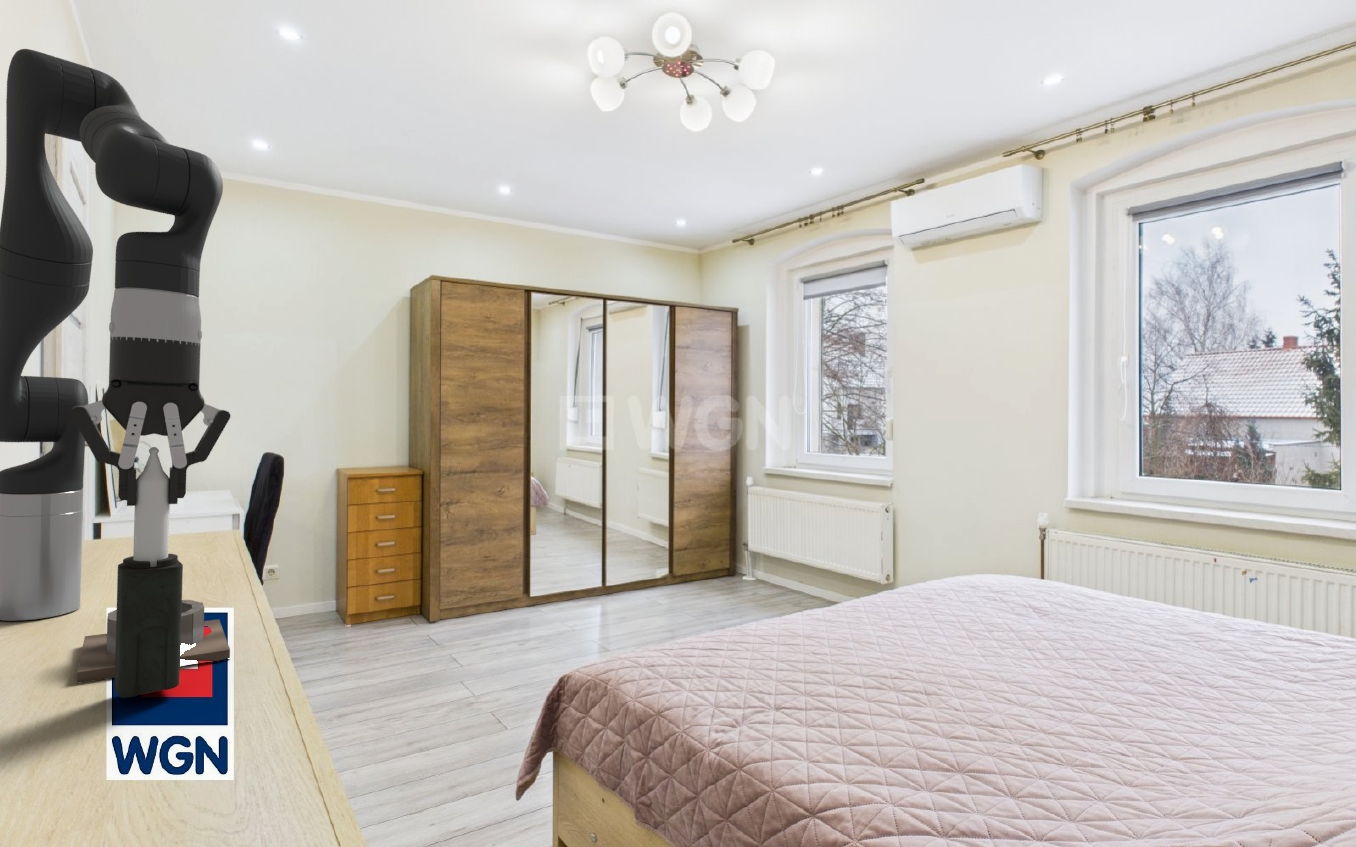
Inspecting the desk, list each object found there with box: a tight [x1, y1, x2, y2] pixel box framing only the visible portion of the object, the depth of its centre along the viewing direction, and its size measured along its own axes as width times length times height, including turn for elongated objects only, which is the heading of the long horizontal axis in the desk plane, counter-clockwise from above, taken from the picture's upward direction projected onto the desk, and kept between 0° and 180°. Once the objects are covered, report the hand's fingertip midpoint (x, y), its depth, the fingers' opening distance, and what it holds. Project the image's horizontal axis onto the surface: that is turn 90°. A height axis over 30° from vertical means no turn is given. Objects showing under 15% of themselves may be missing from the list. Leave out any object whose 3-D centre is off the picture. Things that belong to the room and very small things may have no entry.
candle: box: [114, 446, 184, 698], centre depth 73 cm, size 5×5×25 cm
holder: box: [76, 599, 231, 684], centre depth 86 cm, size 14×14×5 cm
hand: (152, 503), depth 73 cm, fingers closed on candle, 3 cm apart
